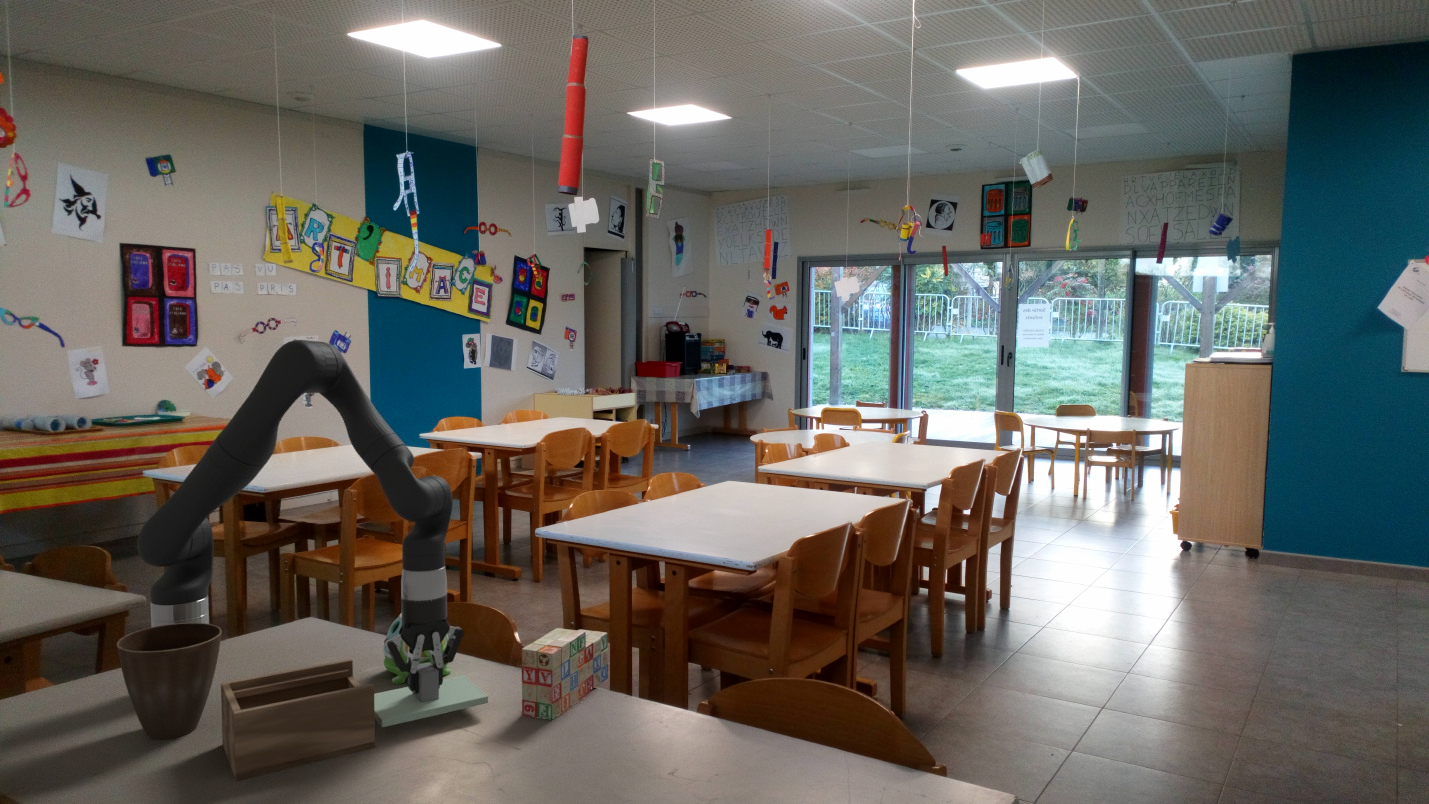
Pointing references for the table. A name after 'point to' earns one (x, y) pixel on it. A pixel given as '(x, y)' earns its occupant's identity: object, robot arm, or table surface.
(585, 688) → the stack of blocks
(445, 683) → the lid
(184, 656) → the plant pot
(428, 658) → the turtle holder
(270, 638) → the table surface
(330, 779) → the table surface
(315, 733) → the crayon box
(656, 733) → the table surface
